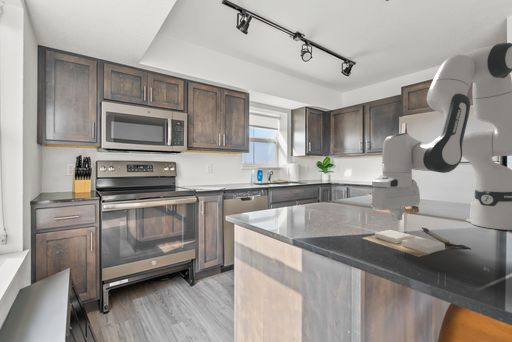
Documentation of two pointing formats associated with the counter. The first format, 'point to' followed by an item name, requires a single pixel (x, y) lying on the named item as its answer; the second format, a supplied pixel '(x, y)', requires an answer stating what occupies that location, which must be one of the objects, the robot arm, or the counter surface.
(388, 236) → the tile far
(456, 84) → the robot arm
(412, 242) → the tile near
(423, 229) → the tomahawk
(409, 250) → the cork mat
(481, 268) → the counter surface
